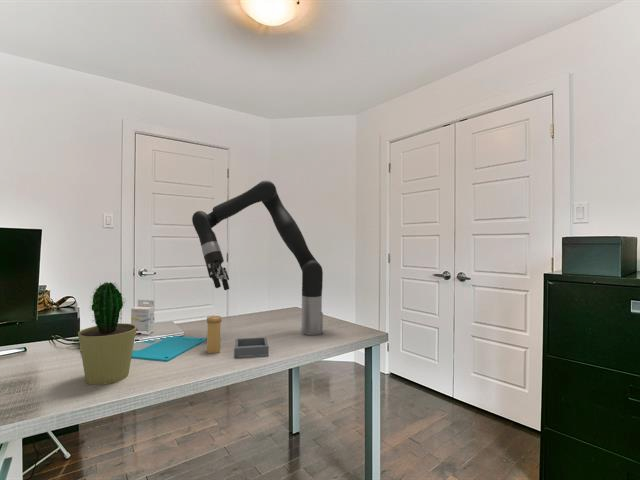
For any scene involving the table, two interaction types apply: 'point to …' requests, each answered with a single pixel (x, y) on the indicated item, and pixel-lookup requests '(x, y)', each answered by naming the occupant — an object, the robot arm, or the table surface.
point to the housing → (251, 347)
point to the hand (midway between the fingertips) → (222, 288)
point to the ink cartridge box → (143, 315)
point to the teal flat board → (164, 348)
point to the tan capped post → (213, 334)
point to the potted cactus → (107, 339)
